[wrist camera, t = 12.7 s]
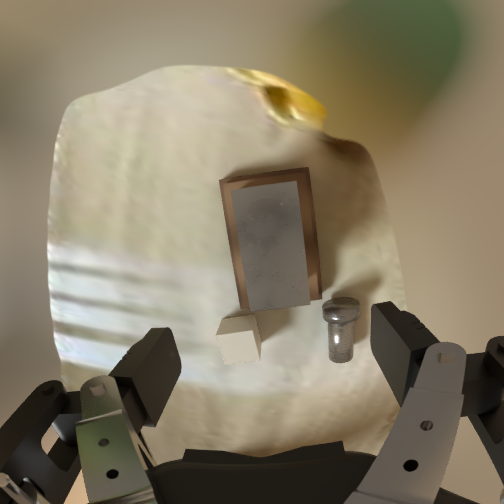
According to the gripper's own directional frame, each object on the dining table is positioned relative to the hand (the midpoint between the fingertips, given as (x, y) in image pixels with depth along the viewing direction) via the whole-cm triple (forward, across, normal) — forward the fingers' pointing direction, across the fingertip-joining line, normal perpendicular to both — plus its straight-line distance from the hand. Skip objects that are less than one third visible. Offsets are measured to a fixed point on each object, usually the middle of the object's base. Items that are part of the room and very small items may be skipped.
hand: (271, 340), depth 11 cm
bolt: (+21, -7, +12) cm, 25 cm away
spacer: (+21, +5, +10) cm, 24 cm away
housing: (+18, 0, -1) cm, 18 cm away
